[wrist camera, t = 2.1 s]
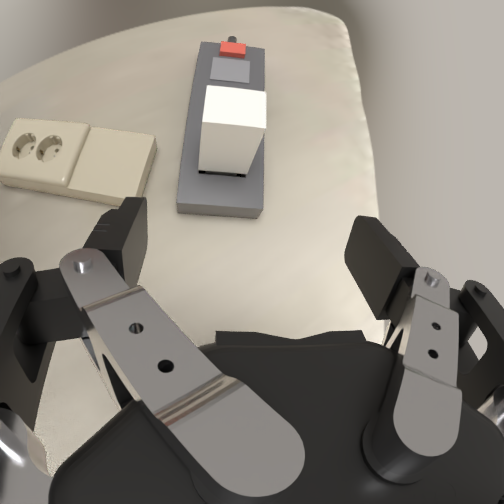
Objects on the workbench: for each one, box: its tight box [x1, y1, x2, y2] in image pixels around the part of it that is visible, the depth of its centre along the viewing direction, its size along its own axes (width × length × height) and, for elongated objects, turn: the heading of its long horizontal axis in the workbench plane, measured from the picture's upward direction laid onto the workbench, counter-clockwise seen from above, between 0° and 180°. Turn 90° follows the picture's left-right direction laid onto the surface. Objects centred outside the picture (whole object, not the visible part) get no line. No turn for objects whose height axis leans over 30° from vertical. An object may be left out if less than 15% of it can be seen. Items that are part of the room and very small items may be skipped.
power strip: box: [176, 36, 265, 219], centre depth 33 cm, size 8×26×4 cm, turn 179°
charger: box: [198, 85, 266, 177], centre depth 27 cm, size 5×4×12 cm
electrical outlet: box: [0, 118, 157, 206], centre depth 28 cm, size 7×4×18 cm
